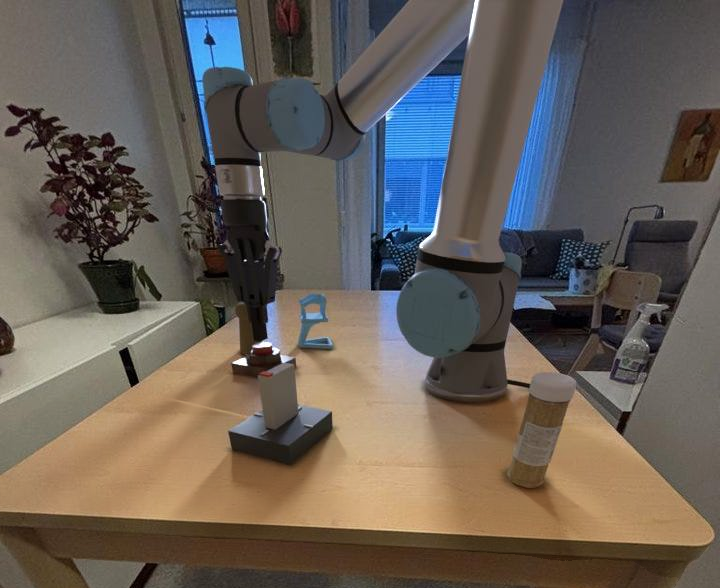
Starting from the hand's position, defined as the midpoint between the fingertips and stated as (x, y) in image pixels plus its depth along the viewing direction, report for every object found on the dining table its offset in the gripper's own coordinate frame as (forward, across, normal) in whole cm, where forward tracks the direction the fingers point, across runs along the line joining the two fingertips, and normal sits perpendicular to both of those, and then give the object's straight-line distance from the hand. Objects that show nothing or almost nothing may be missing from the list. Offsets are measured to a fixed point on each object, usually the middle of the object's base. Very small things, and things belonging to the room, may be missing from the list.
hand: (260, 339), depth 81 cm
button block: (+6, 0, 0) cm, 6 cm away
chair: (+7, 0, +21) cm, 22 cm away
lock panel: (+6, +21, -24) cm, 33 cm away
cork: (+7, -11, +10) cm, 16 cm away
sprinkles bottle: (+6, +55, -20) cm, 59 cm away
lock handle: (+3, +21, -24) cm, 32 cm away
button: (+3, 0, 0) cm, 3 cm away
